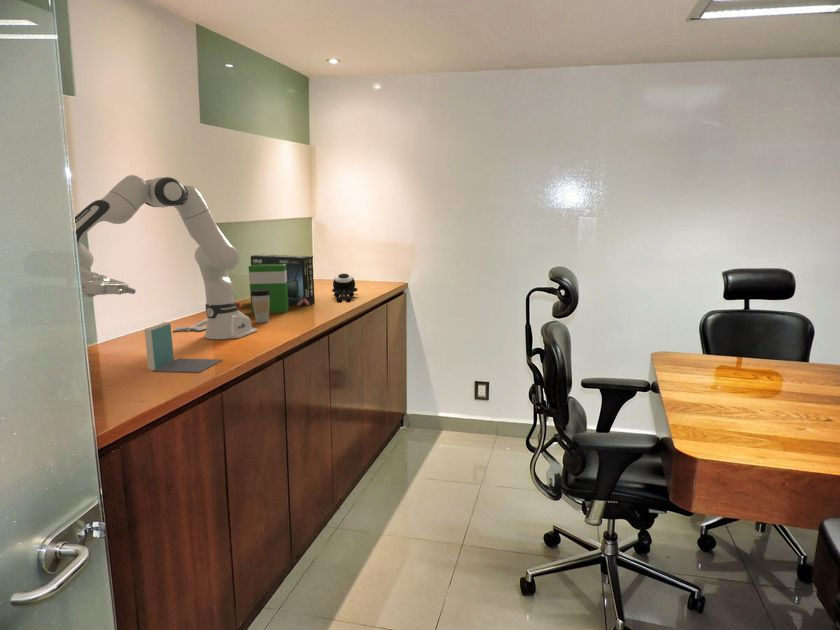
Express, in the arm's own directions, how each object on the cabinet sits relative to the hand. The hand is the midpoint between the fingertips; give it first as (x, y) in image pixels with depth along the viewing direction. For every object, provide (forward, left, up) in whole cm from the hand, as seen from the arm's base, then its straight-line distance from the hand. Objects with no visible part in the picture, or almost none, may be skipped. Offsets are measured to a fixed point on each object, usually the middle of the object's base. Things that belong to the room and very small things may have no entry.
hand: (127, 291), depth 208 cm
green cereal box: (-100, -28, -26) cm, 107 cm away
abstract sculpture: (-152, -20, -26) cm, 156 cm away
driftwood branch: (-58, -33, -26) cm, 72 cm away
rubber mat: (-6, +20, -25) cm, 33 cm away
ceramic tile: (-3, +11, -26) cm, 28 cm away
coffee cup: (-77, -12, -26) cm, 82 cm away
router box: (-123, -39, -26) cm, 131 cm away
